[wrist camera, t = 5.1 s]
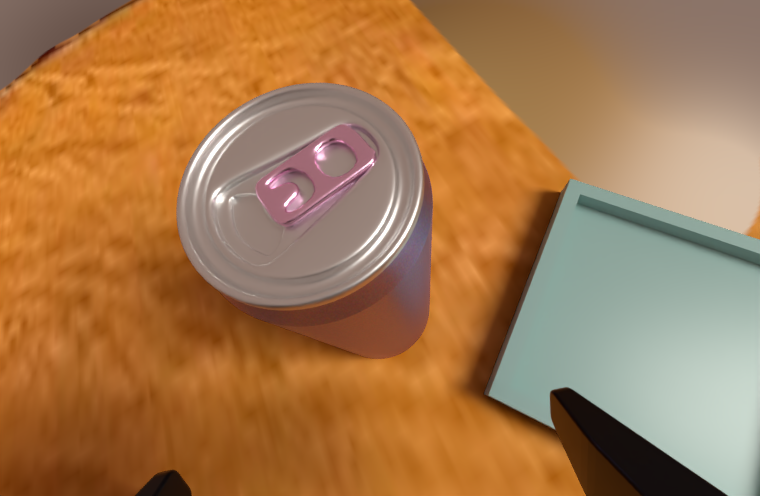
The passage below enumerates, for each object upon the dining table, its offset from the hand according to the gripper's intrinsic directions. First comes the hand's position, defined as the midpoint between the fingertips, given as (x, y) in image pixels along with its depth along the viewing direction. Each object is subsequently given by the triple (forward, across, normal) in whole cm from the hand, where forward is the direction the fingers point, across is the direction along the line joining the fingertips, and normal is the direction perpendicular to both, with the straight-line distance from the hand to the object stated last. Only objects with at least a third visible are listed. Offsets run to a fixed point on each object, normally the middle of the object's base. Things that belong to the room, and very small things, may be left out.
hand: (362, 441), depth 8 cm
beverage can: (+13, 0, +5) cm, 14 cm away
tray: (+9, -14, +8) cm, 19 cm away
